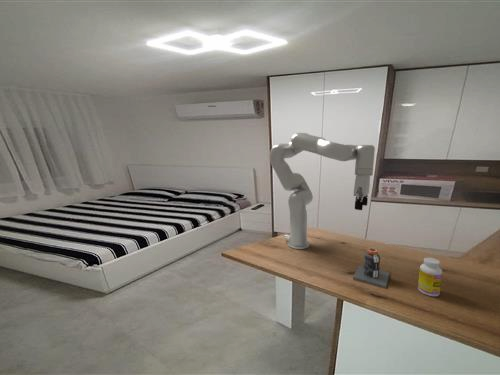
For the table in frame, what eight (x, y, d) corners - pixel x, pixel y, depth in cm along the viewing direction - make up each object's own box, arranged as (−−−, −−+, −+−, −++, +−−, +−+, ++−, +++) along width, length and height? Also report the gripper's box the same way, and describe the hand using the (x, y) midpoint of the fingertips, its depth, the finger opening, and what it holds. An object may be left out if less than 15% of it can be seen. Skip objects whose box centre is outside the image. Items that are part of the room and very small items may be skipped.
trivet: (353, 279, 97) (353, 277, 97) (359, 266, 106) (359, 264, 106) (385, 288, 90) (385, 286, 90) (389, 274, 99) (389, 272, 99)
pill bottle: (381, 278, 95) (382, 253, 93) (365, 277, 96) (367, 252, 94) (376, 271, 100) (377, 247, 99) (361, 270, 102) (363, 246, 100)
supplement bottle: (432, 299, 83) (436, 266, 81) (413, 289, 89) (416, 258, 87) (443, 294, 85) (447, 262, 83) (424, 284, 91) (427, 254, 89)
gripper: (359, 169, 115) (357, 202, 118) (349, 173, 102) (347, 210, 105) (376, 170, 111) (373, 204, 114) (368, 174, 97) (365, 213, 100)
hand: (361, 207), depth 109 cm, fingers open, 9 cm apart
